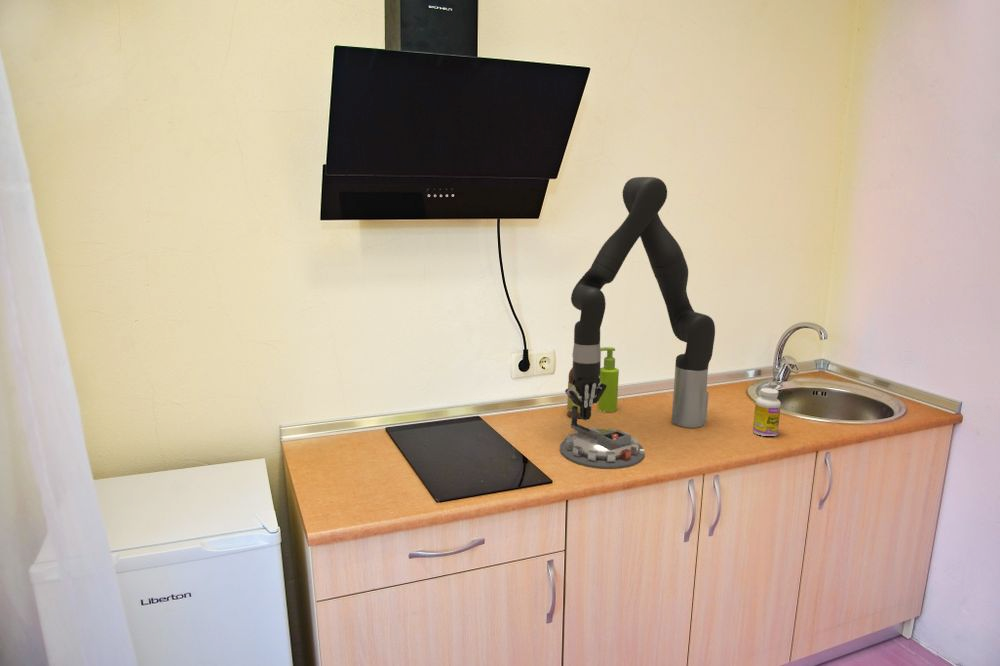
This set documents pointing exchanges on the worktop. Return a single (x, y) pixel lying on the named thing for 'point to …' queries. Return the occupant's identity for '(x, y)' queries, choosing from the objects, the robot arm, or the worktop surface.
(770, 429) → the supplement bottle
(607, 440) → the chain link
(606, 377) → the soap dispenser
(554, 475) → the worktop surface
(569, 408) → the sauce bottle
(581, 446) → the sprocket
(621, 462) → the sprocket base
